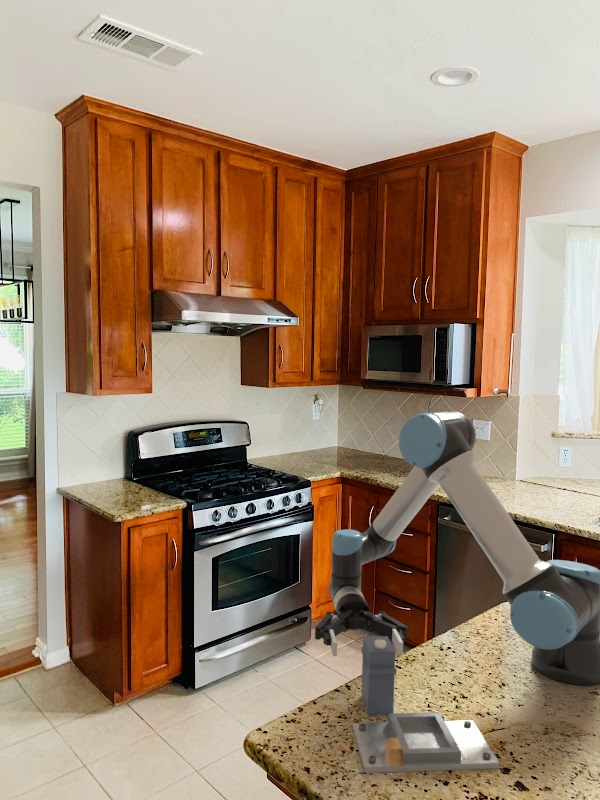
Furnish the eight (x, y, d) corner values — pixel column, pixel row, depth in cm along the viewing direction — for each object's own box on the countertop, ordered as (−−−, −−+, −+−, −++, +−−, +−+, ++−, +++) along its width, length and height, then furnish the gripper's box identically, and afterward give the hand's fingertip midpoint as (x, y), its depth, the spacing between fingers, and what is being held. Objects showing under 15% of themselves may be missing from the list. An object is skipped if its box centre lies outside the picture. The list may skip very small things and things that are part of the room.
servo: (384, 692, 123) (386, 628, 123) (394, 718, 114) (397, 649, 114) (360, 692, 123) (362, 628, 122) (369, 719, 114) (371, 650, 113)
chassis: (472, 725, 113) (473, 710, 112) (498, 768, 101) (499, 751, 100) (352, 728, 111) (352, 713, 111) (364, 772, 99) (365, 755, 99)
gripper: (402, 623, 149) (427, 666, 128) (299, 624, 147) (306, 668, 126) (403, 592, 148) (428, 630, 127) (299, 593, 147) (307, 631, 125)
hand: (368, 649), depth 127 cm, fingers open, 13 cm apart
